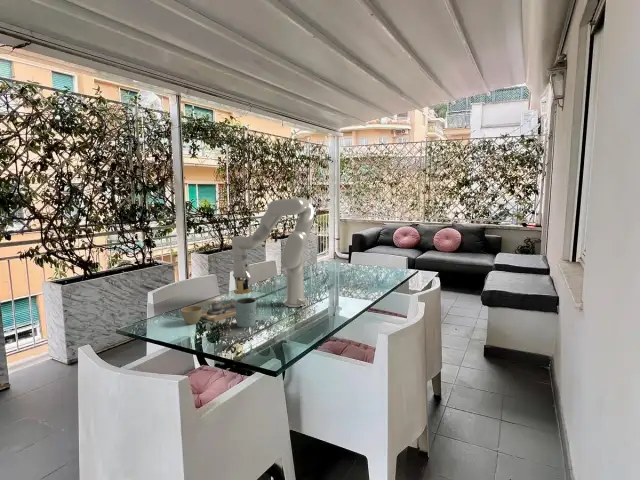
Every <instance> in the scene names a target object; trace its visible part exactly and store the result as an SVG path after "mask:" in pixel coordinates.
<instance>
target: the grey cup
mask: <svg viewBox="0 0 640 480" xmlns="http://www.w3.org/2000/svg"><path fill="white" fill-rule="evenodd" d="M234 302H235V307H236V315H235V316H236V326H237V327H238V328H247V329H248V328H251V327H254V326H255V325H256V314H257V311H256V310H257V299H256V298H253V297H240V298H237V299H234Z"/></svg>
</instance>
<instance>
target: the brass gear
mask: <svg viewBox="0 0 640 480" xmlns="http://www.w3.org/2000/svg"><path fill="white" fill-rule="evenodd" d="M245 280H246V278H245ZM237 287H238V289H237ZM251 292H252V289H251V288H250V287H248V289H247V290H243V279H242V278H241V279H240V280H237V285H236V289H234V290H233V293H234V294H235V295H243V294H249V293H251Z"/></svg>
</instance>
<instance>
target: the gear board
mask: <svg viewBox="0 0 640 480" xmlns="http://www.w3.org/2000/svg"><path fill="white" fill-rule="evenodd" d="M229 301H230V302H229V303H227V304H224V305H221V302H219V301H217V300H216V301H214V302H213V303H212V304H211V308H208V309H206V310H202V314H201V317H200V318H203V319H205V320H208V321H212V322H218V321H222V320H224V319H227V318H232V317H234V316H236V307H235V299H234V298H230V300H229Z"/></svg>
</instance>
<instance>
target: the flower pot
mask: <svg viewBox="0 0 640 480" xmlns="http://www.w3.org/2000/svg"><path fill="white" fill-rule="evenodd" d="M180 311H181V315H182V318H183V320H184V322H185V323H186V324H187V325H197V324H198V323H199V322H200V319H201V318H202V317H201V314H202V311H203V307H202V306H199V305H187V306H185V307H182V308H181V309H180Z"/></svg>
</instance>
